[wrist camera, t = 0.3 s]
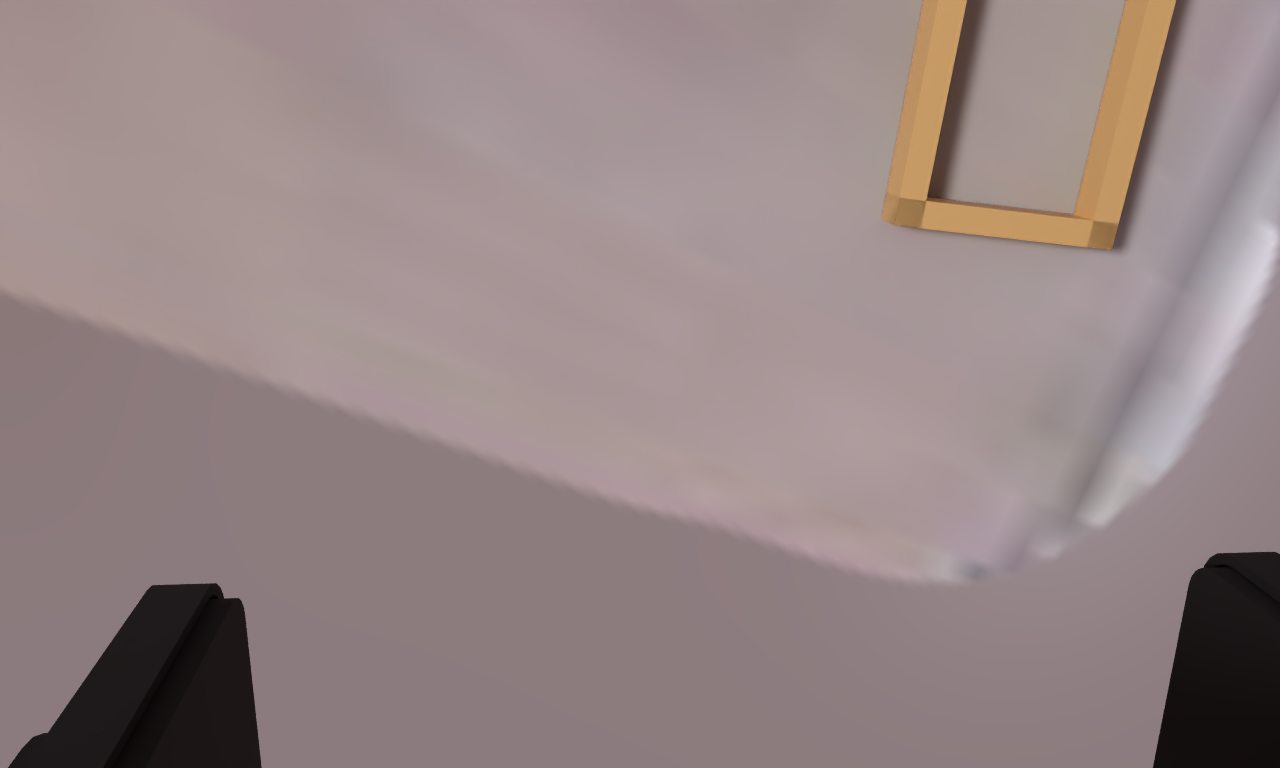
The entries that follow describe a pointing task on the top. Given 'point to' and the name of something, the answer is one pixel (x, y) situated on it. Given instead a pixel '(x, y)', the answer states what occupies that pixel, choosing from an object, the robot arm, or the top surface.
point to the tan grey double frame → (1107, 156)
